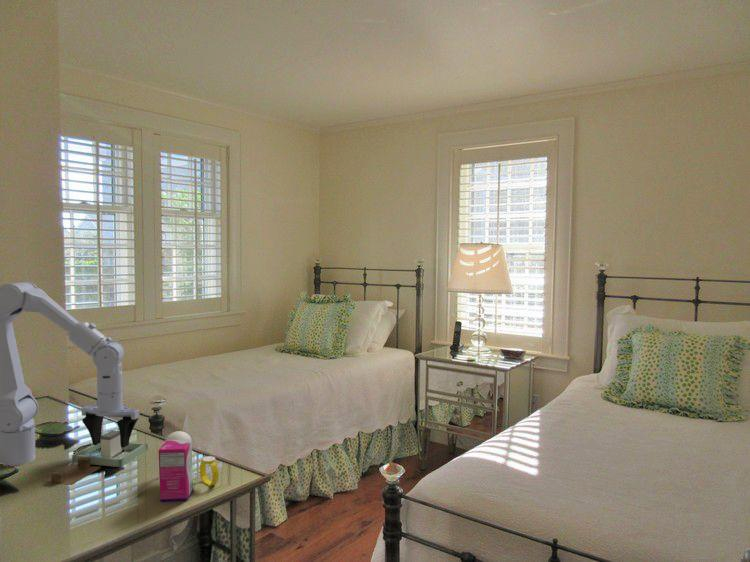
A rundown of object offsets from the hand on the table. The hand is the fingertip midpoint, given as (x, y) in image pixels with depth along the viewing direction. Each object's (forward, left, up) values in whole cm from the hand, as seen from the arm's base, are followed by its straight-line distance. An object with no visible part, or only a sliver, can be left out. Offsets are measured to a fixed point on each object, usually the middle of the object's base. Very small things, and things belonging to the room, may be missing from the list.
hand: (110, 445), depth 139 cm
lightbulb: (+22, -7, -4) cm, 23 cm away
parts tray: (0, 0, -4) cm, 4 cm away
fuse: (0, 0, -3) cm, 3 cm away
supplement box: (+26, -15, -4) cm, 30 cm away
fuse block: (-2, -12, -4) cm, 12 cm away
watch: (+30, -8, -4) cm, 31 cm away
